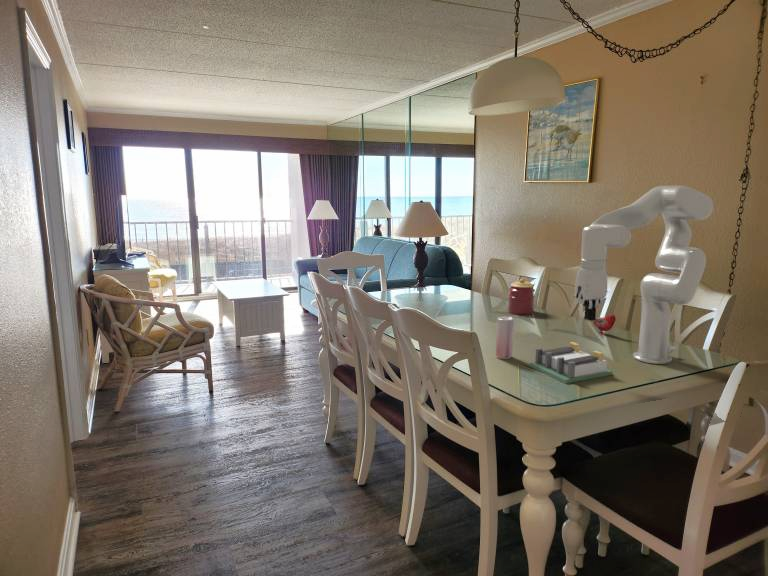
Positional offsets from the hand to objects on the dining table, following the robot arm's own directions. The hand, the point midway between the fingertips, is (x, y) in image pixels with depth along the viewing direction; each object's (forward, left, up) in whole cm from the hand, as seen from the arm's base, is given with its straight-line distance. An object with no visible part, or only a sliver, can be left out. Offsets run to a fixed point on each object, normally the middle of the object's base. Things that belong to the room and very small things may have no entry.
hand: (589, 319), depth 170 cm
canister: (-37, -84, -19) cm, 94 cm away
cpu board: (+2, -5, -19) cm, 20 cm away
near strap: (+3, 0, -14) cm, 14 cm away
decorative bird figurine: (-43, -37, -19) cm, 60 cm away
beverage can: (+14, -27, -19) cm, 36 cm away
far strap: (+3, -11, -14) cm, 18 cm away
